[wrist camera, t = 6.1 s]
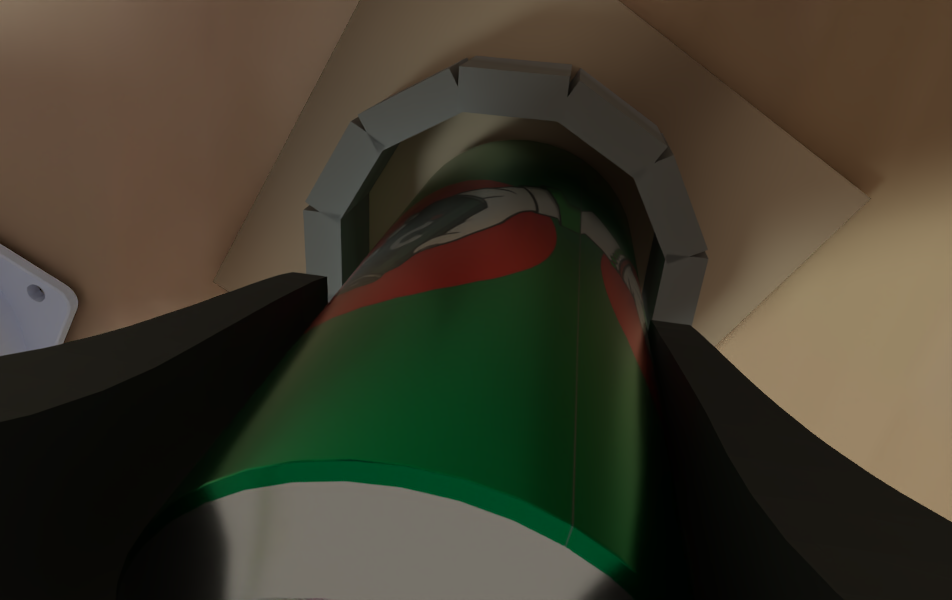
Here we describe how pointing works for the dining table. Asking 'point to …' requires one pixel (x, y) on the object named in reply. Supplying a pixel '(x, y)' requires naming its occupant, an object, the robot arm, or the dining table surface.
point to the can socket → (552, 122)
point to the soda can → (449, 418)
